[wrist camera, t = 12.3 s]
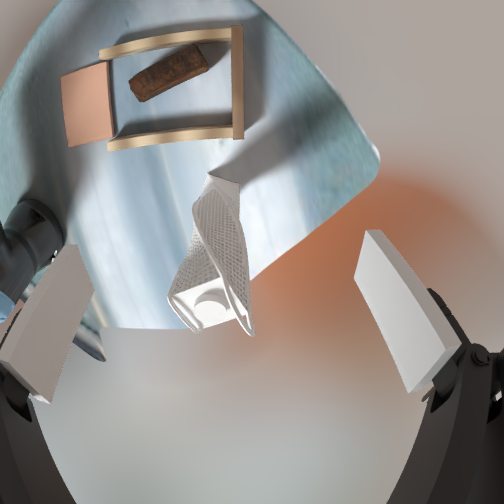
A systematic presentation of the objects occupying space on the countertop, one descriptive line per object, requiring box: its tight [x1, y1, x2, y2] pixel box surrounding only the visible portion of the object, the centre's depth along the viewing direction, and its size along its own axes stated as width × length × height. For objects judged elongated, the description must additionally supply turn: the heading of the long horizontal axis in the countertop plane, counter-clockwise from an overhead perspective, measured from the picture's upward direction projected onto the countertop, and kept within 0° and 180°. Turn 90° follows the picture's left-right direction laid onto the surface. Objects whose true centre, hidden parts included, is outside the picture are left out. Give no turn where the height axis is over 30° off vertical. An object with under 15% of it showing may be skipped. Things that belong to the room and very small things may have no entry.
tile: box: [61, 61, 115, 148], centre depth 32 cm, size 9×13×1 cm
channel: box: [99, 25, 244, 152], centre depth 31 cm, size 20×16×5 cm
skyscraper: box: [167, 173, 256, 337], centre depth 33 cm, size 8×8×28 cm
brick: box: [129, 45, 209, 102], centre depth 30 cm, size 11×4×5 cm, turn 112°
